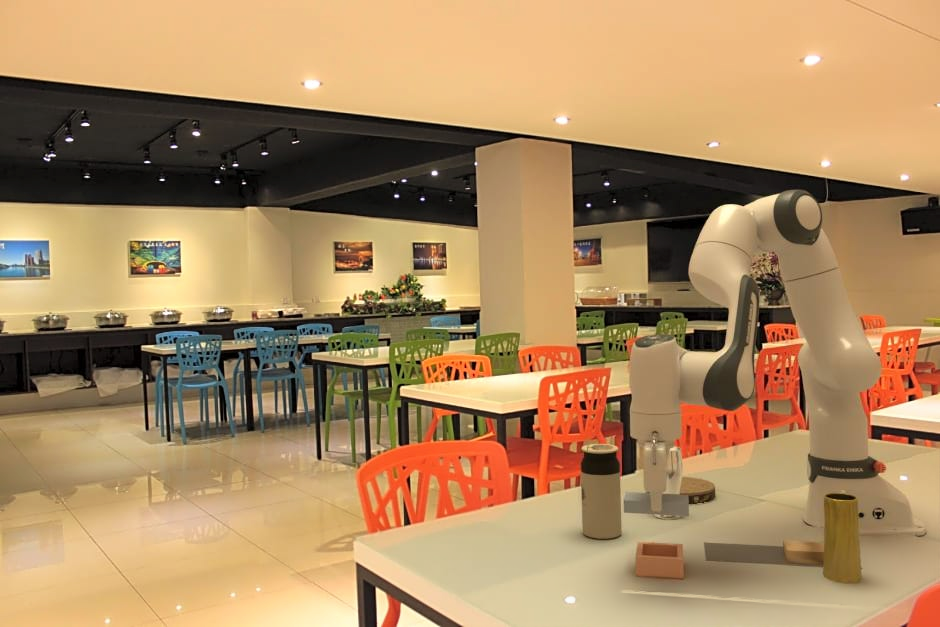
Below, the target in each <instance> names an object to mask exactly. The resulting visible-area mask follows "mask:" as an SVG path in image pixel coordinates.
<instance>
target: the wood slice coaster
mask: <svg viewBox="0 0 940 627" xmlns="http://www.w3.org/2000/svg"><path fill="white" fill-rule="evenodd" d="M646 493H650V492H646ZM680 495H688V498H689V504H695V505H698V504H697V503H703V504H705V503H704V502H708V503H710V502H709V501H711V500H713V499H714V498H716V485H715V484H714V483H713V482H712V481H709V480H707V479H703V478H699V477H698V478H697V477H691V476H682V483H681V489H680ZM714 500H715V499H714ZM714 500H713V501H714ZM711 502H712V501H711Z"/></svg>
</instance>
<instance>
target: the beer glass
mask: <svg viewBox="0 0 940 627" xmlns="http://www.w3.org/2000/svg"><path fill="white" fill-rule="evenodd" d="M683 468H684V466H683V454H682V447H681V446H676V445H674V447H673V448H670V450H669V459H668V468H667V487H666V491H665V492H663V494H680V489H681V483H682V477H683V475H684V474H683V472H684V471H683V470H684V469H683ZM652 515H653V516H654V517H655V518H657V519H660V520H661V519H662V520H677V519H680V518H682V516H675V515H657V514H652Z"/></svg>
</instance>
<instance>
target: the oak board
mask: <svg viewBox="0 0 940 627" xmlns="http://www.w3.org/2000/svg"><path fill="white" fill-rule="evenodd" d="M782 546H783V553H784V556H785V558H786V560H787V562H788V563H806V564H823V558H824V541H823V542H822V541H806V540H805V541H801V540H782Z"/></svg>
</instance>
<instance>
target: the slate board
mask: <svg viewBox="0 0 940 627" xmlns="http://www.w3.org/2000/svg"><path fill="white" fill-rule="evenodd" d="M689 508H690V505H689V498H688V495H680V494H662V510H661V511H652V510H651V499H650V493H647V492H633V491H626V492H625V494H624V497H623V513H624V514H637V515H638V514H639V515H640V514H641V515H642V514H643V515H645V514H646V515H653V514H657V515H675V516H681V517H689V516H690V509H689Z"/></svg>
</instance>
